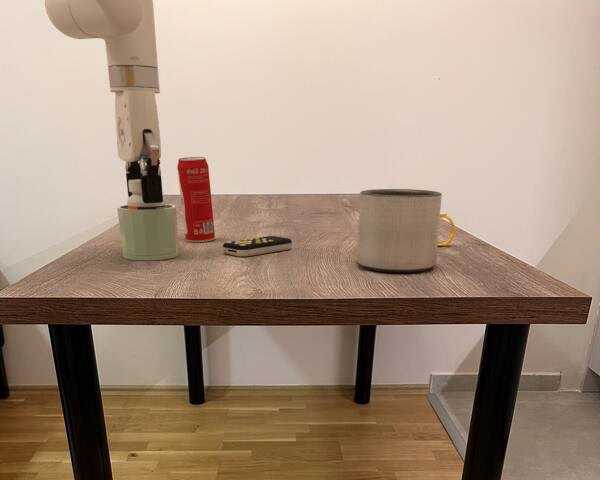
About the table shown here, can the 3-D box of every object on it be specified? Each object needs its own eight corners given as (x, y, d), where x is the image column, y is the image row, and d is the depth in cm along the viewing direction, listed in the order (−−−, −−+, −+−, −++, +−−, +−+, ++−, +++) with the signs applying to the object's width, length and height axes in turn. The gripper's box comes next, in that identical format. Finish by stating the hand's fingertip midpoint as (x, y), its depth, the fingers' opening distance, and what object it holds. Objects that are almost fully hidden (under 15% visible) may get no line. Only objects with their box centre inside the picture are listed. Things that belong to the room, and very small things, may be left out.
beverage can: (219, 238, 127) (215, 156, 120) (206, 244, 121) (201, 158, 114) (191, 237, 128) (186, 156, 122) (177, 242, 122) (171, 157, 116)
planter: (411, 257, 109) (416, 187, 104) (450, 271, 98) (459, 194, 93) (343, 261, 105) (346, 189, 100) (377, 277, 94) (382, 197, 89)
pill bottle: (126, 253, 107) (117, 181, 102) (141, 247, 113) (134, 178, 108) (160, 254, 106) (153, 181, 101) (174, 248, 111) (168, 179, 107)
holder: (138, 262, 104) (133, 211, 100) (113, 254, 110) (107, 205, 107) (189, 256, 109) (185, 207, 106) (162, 249, 116) (158, 202, 112)
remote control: (295, 249, 116) (295, 237, 115) (242, 258, 108) (242, 245, 107) (272, 245, 120) (272, 234, 119) (219, 253, 112) (218, 241, 111)
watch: (451, 245, 121) (455, 212, 118) (454, 247, 118) (457, 213, 116) (420, 244, 121) (422, 211, 119) (421, 247, 119) (424, 213, 116)
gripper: (98, 84, 104) (111, 196, 111) (123, 77, 90) (135, 206, 97) (143, 86, 107) (153, 195, 114) (174, 79, 93) (183, 204, 100)
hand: (145, 200), depth 106 cm, fingers open, 9 cm apart
